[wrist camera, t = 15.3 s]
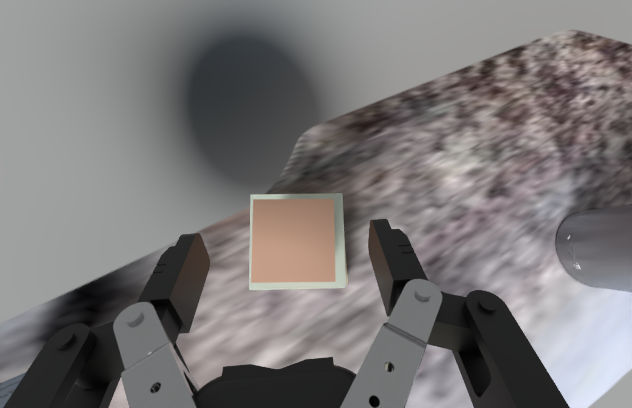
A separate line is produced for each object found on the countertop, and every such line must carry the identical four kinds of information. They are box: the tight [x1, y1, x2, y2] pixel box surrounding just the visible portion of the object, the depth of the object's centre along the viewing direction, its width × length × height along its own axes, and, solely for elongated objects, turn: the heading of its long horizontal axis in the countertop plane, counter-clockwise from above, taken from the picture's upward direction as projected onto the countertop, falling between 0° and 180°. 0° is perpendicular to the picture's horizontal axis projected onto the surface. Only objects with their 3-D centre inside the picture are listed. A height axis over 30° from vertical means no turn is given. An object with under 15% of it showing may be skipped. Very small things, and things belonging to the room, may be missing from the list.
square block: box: [251, 199, 336, 283], centre depth 22 cm, size 5×5×10 cm
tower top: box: [249, 193, 346, 290], centre depth 29 cm, size 9×9×4 cm
